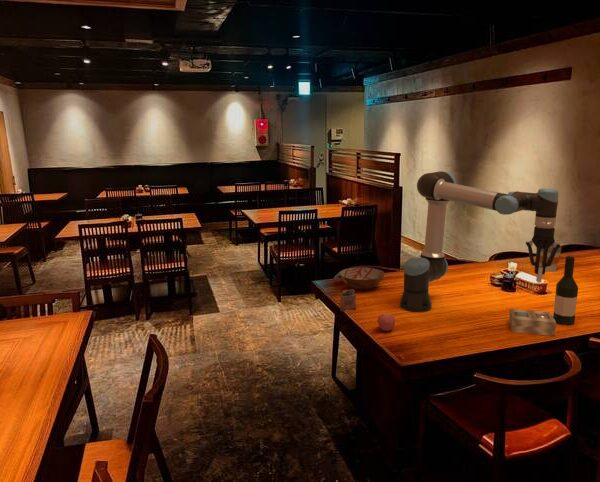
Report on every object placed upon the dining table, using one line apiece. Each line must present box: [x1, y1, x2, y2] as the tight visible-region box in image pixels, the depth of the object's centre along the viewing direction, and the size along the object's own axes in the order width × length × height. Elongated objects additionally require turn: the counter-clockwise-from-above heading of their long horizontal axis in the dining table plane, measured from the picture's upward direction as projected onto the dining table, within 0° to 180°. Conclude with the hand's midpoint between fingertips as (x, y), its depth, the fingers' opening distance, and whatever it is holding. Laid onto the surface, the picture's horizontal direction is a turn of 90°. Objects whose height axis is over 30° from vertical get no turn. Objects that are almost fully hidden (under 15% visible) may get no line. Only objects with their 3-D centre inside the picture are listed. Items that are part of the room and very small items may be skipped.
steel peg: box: [537, 314, 548, 319], centre depth 196 cm, size 4×4×6 cm
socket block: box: [508, 308, 557, 337], centre depth 198 cm, size 16×12×6 cm
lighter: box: [339, 288, 357, 312], centre depth 224 cm, size 8×3×10 cm, turn 105°
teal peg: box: [516, 312, 527, 317], centre depth 199 cm, size 4×4×6 cm
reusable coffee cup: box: [539, 245, 562, 273], centre depth 283 cm, size 12×12×15 cm
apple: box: [377, 312, 396, 332], centre depth 199 cm, size 7×7×8 cm
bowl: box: [338, 266, 386, 291], centre depth 259 cm, size 25×25×8 cm
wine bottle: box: [552, 254, 579, 326], centre depth 202 cm, size 8×8×30 cm
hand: (538, 281), depth 196 cm, fingers closed
